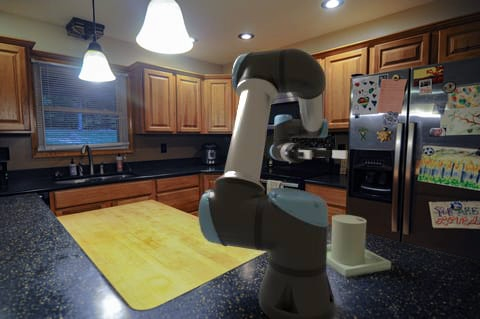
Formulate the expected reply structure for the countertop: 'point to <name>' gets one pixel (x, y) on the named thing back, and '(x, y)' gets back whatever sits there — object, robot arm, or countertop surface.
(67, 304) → the countertop surface
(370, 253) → the tray
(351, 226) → the can
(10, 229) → the countertop surface
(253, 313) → the countertop surface
